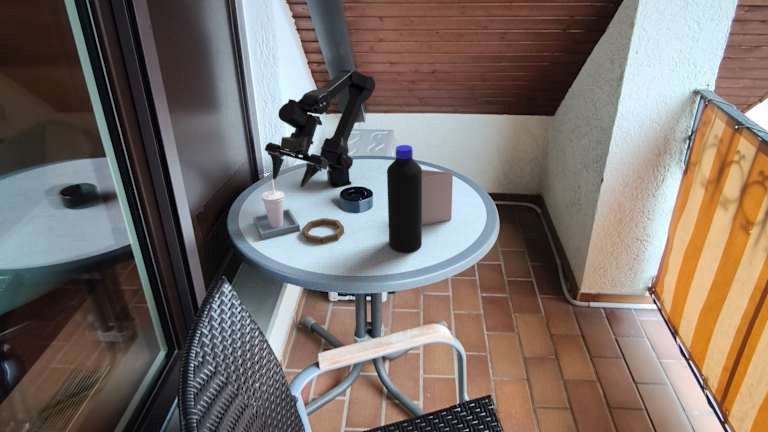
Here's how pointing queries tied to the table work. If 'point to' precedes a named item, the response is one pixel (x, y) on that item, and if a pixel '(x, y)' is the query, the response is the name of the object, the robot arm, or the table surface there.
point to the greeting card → (436, 196)
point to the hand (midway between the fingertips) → (287, 183)
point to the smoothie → (274, 206)
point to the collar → (325, 238)
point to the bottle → (404, 201)
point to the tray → (269, 232)
